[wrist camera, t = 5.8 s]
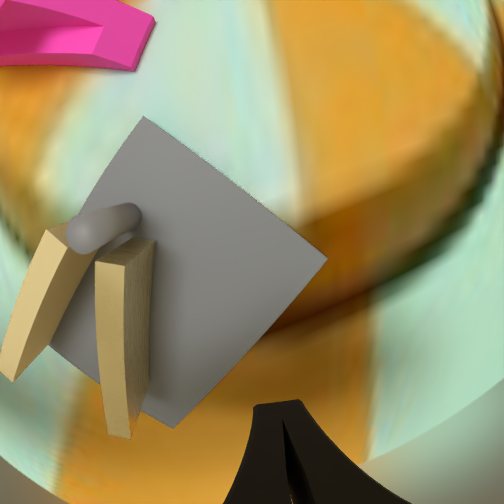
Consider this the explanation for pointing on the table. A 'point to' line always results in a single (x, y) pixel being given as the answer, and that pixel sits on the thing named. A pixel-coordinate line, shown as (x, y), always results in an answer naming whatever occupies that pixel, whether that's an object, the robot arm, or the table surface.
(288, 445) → the robot arm
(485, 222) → the table surface
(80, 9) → the bracket
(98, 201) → the hinge mount
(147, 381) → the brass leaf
